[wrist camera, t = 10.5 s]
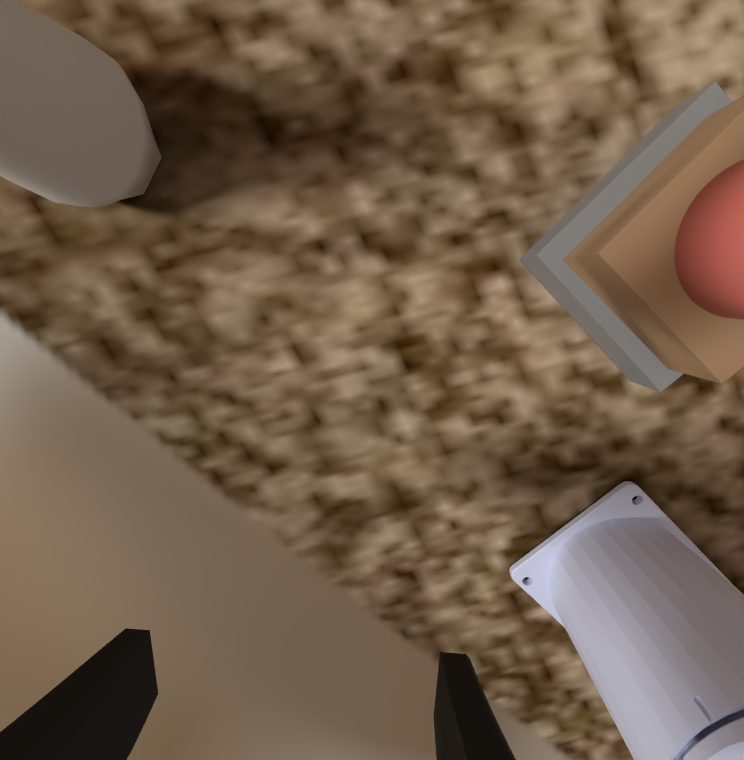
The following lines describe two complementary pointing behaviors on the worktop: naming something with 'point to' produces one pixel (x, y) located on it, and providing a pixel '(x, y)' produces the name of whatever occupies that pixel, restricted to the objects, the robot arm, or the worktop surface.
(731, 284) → the red rounded block
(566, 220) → the tower base block
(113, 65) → the salt shaker
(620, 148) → the worktop surface
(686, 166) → the tower top block
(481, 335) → the worktop surface
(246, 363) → the worktop surface
